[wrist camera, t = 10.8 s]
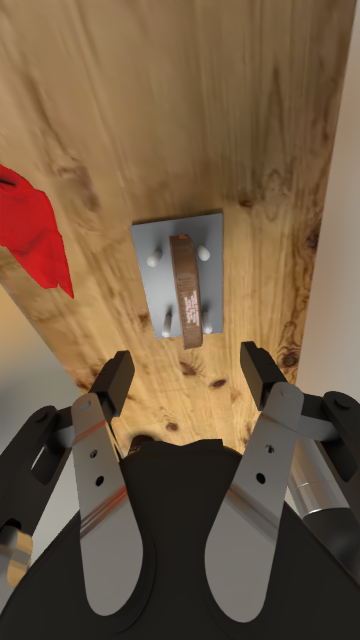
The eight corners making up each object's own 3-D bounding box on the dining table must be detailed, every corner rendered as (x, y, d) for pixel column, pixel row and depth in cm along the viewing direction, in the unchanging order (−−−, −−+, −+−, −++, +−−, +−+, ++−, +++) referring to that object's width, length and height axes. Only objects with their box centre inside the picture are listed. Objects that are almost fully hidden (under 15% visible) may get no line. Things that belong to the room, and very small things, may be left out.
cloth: (105, 289, 29) (99, 294, 27) (39, 313, 31) (29, 319, 29) (-34, 49, 17) (-63, 25, 15) (-122, 117, 19) (-157, 105, 17)
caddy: (221, 213, 23) (232, 209, 17) (221, 329, 31) (229, 350, 26) (131, 225, 23) (116, 225, 18) (156, 335, 32) (150, 357, 27)
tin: (168, 234, 23) (161, 238, 16) (192, 230, 23) (196, 233, 15) (181, 329, 30) (180, 363, 23) (199, 327, 30) (204, 361, 23)
